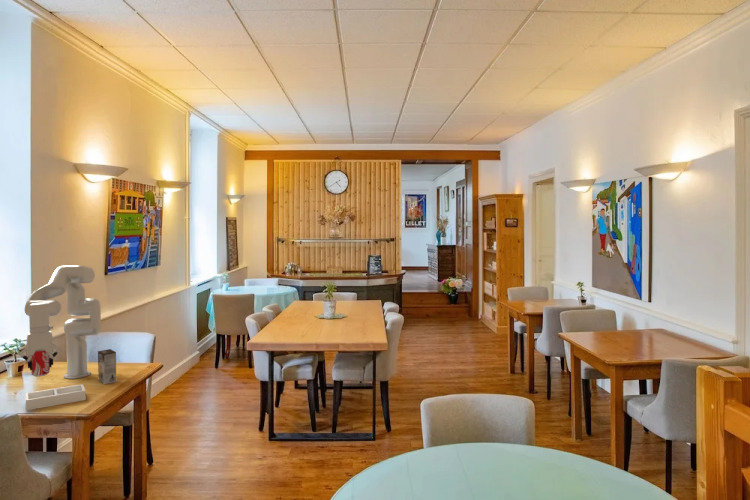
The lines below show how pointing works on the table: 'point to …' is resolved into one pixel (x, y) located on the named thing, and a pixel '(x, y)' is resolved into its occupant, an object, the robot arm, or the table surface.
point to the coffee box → (107, 366)
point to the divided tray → (55, 396)
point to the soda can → (40, 363)
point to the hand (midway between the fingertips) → (40, 367)
